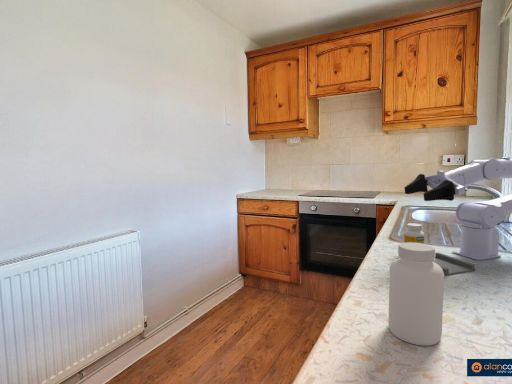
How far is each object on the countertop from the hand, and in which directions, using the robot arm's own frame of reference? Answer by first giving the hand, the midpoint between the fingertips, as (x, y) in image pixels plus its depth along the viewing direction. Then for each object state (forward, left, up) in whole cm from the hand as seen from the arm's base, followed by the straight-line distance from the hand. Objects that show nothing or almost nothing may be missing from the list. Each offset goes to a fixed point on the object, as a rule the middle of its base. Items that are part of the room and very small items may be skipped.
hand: (414, 193), depth 85 cm
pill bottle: (+28, +29, -19) cm, 45 cm away
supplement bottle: (-4, -3, -19) cm, 20 cm away
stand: (-4, +7, -19) cm, 21 cm away
